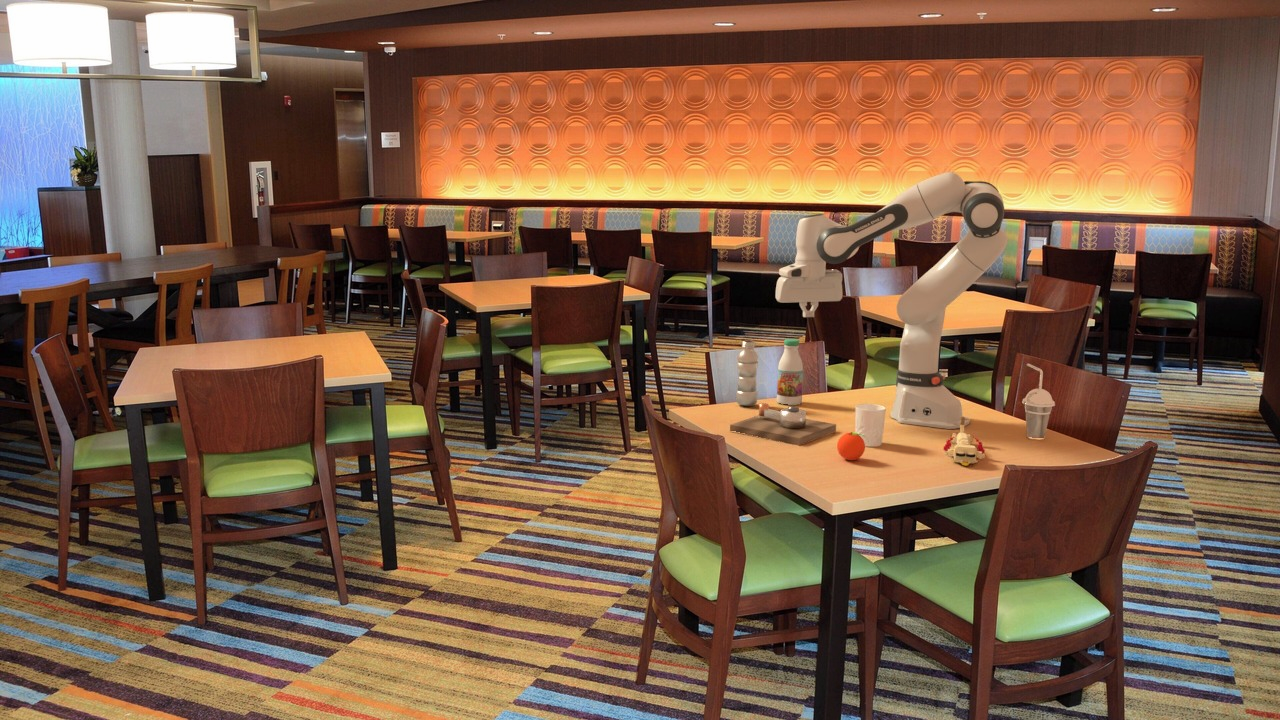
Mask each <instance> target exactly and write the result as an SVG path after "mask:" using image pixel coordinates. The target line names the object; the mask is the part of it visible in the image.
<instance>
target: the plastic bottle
mask: <svg viewBox="0 0 1280 720" xmlns="http://www.w3.org/2000/svg"><path fill="white" fill-rule="evenodd" d="M741 343H742V344H741V348H742V349H741V350H740V352H739V353H738V354H737V357H736V365H737V370H738V371H737V372H738V373H737V374H738V380H737V381H738V383H737V390H736V394H735V400H736V403H737V404H738V405H739V406H743V407H751V406H755V405H757V403H758V398H759V397H758V391H757V375H758V374H757V371H758V367H759V355H758V354H757V352H756V351H755V345H756V344H755V341H754V340H743V341H742V342H741Z"/></svg>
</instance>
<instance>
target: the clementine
mask: <svg viewBox="0 0 1280 720" xmlns="http://www.w3.org/2000/svg"><path fill="white" fill-rule="evenodd" d="M859 435H862V434H858V433H856V432H846V433H844V434H842V435H841V436H840V438H839V439H838V441H837V444H836V447H837V448H836V449H837V452H838V454H839V455H840V457H841V458H843V459H845V460H847V461H855V460H858V459H860V458H861V457H862V456H863V455H864V452H865V450H866V446H865V443H864V440H863V439H862V437H861V436H859ZM862 436H863V435H862ZM864 437H865V436H864ZM868 442H869V441H868Z"/></svg>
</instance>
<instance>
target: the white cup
mask: <svg viewBox="0 0 1280 720" xmlns="http://www.w3.org/2000/svg"><path fill="white" fill-rule="evenodd" d="M854 409H855V413H854V414H855V419H854V422H855V423H854V424H855V425H854V426H855V433H858V434H862V435H863V436H862V435H859V436H861V437H862V439H863V440H864V443H865V447H869V448H871V447H872V448H874V447H880V446H881V445H882V444H883V434H884V429H885V420H886V410H887V408H886V407H885V406H883V405H882V404H881V405H880V404H875V403H860V404H856V405H855V407H854ZM864 436H865V437H864ZM868 441H869V442H868Z"/></svg>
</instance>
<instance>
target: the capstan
mask: <svg viewBox="0 0 1280 720" xmlns="http://www.w3.org/2000/svg"><path fill="white" fill-rule="evenodd" d="M758 415H759V416H765V417H769V418H773V419H777V420H780V425H781V426H782V427H786V428H803V427H805V426H806V419H807V410H805V409H802V408H800V407H799V406H797V405H789V406H788V407H786V408H782V409H780V411H779V410H775V409H770V408H769V404H768V403H766V402H765V403H764V402H763V403H762V402H761V403H758Z"/></svg>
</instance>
